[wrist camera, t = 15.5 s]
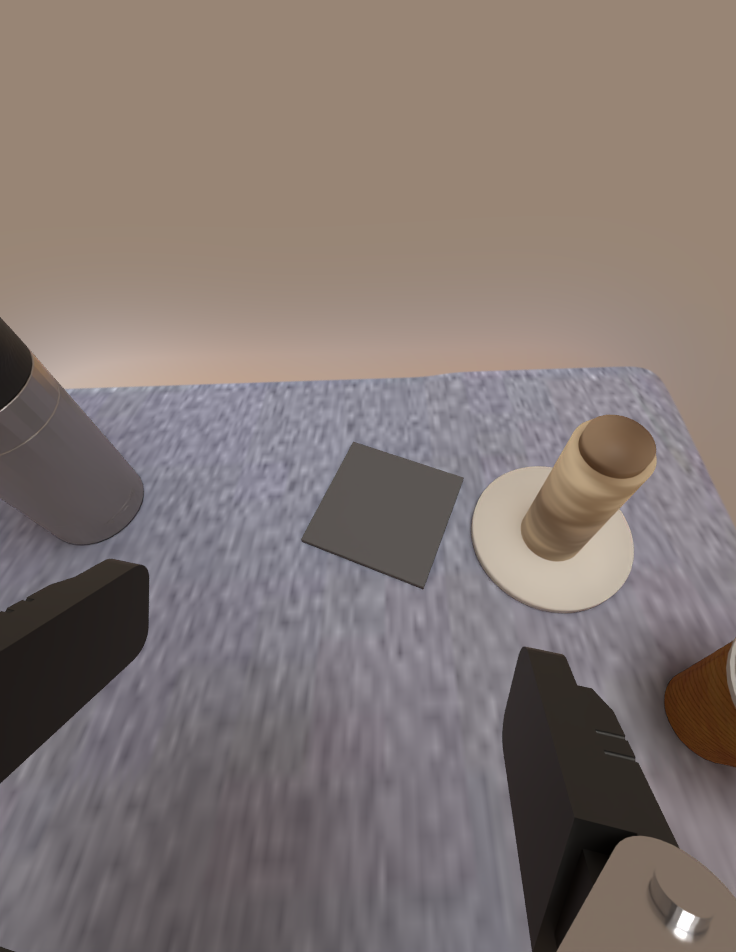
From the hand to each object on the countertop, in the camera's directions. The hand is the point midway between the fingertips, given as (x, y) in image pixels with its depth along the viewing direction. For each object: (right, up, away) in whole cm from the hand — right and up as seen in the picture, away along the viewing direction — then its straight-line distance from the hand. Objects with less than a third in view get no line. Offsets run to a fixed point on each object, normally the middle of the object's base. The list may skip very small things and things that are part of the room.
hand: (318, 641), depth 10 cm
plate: (+18, -2, +33) cm, 37 cm away
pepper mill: (+18, -2, +32) cm, 36 cm away
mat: (+3, 0, +35) cm, 35 cm away
